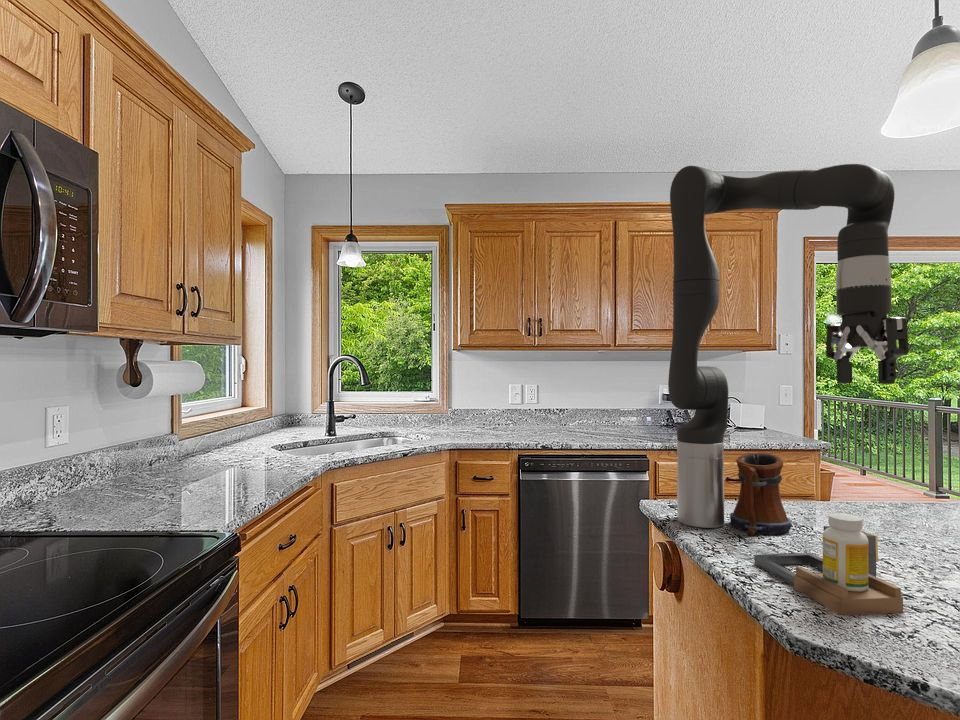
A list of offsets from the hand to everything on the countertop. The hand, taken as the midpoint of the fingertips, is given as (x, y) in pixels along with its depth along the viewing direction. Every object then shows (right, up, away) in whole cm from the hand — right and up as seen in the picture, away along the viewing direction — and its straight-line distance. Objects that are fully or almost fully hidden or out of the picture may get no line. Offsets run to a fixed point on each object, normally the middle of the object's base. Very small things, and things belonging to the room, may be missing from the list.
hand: (864, 383), depth 91 cm
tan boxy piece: (-5, -28, -3) cm, 28 cm away
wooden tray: (-13, -30, -14) cm, 35 cm away
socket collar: (-13, -30, -4) cm, 33 cm away
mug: (-8, -31, +19) cm, 37 cm away
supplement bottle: (-13, -28, -14) cm, 34 cm away
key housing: (-5, -30, -3) cm, 31 cm away
